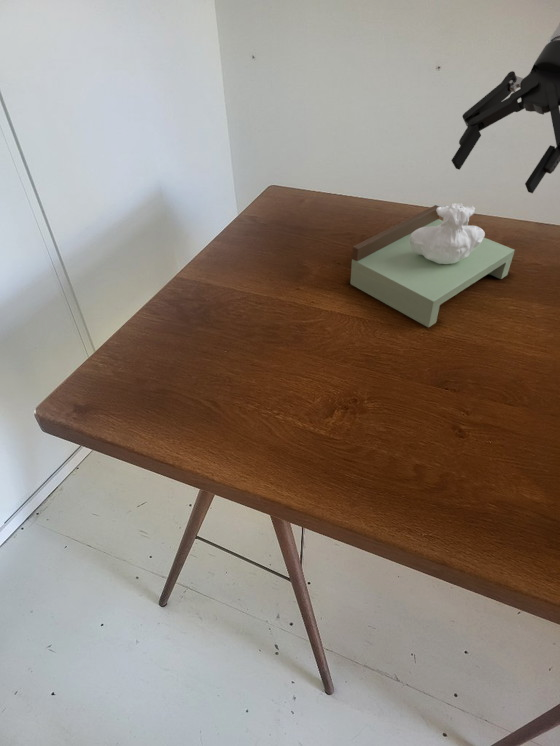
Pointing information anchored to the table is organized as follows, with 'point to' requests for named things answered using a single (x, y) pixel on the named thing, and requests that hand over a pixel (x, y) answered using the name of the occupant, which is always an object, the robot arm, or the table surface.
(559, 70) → the robot arm
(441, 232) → the bust
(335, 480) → the table surface
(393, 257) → the shoe shelf
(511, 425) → the table surface
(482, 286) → the table surface
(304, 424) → the table surface
